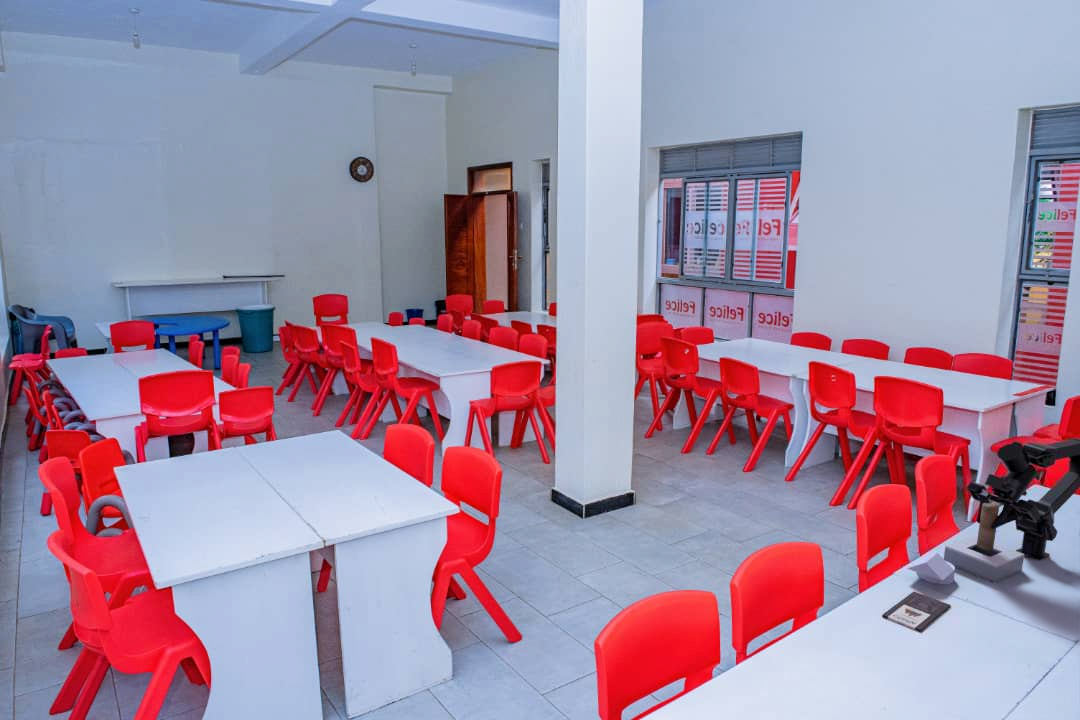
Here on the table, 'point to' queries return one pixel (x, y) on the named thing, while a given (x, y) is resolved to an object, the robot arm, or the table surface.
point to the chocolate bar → (916, 611)
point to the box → (984, 559)
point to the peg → (987, 526)
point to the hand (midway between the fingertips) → (984, 525)
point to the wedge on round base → (934, 569)
